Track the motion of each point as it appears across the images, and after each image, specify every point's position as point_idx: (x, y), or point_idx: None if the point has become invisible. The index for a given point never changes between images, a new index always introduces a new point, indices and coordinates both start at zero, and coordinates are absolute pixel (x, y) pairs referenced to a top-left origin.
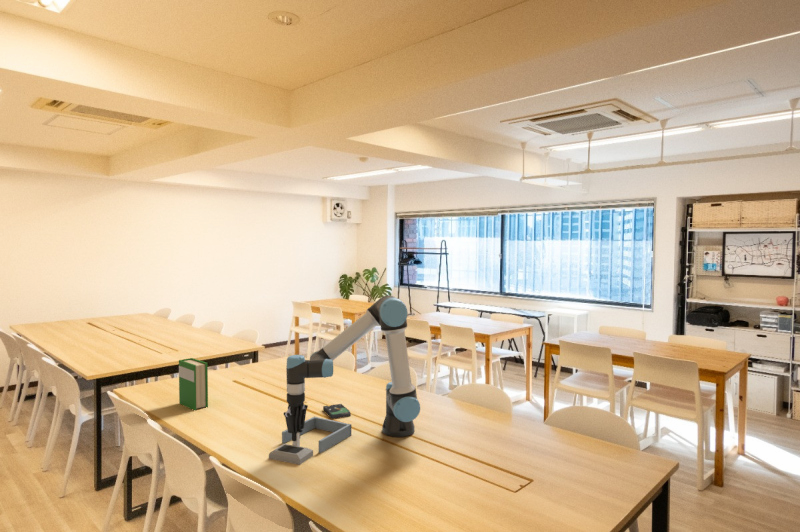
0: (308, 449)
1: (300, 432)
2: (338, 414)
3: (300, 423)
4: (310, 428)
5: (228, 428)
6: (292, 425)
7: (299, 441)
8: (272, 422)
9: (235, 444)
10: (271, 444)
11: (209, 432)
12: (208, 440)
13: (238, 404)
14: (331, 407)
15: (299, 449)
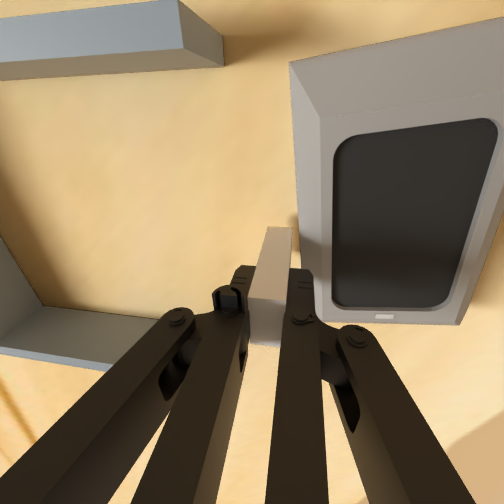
0: (325, 92)
1: (124, 326)
2: None
3: (197, 385)
4: (63, 314)
5: (248, 479)
6: (410, 456)
7: (264, 248)
8: None
9: (340, 444)
10: (278, 363)
11: None
12: (345, 491)
13: (133, 491)
14: None
15: (364, 171)
